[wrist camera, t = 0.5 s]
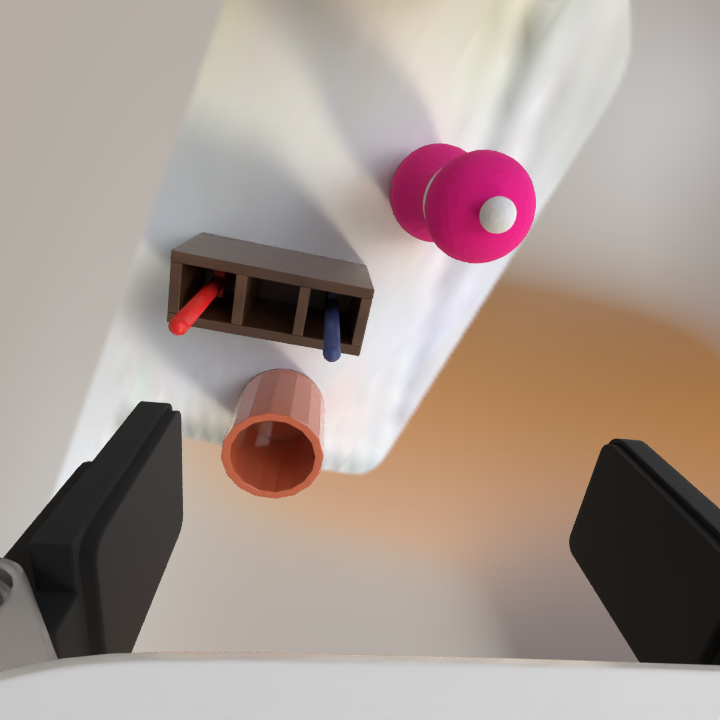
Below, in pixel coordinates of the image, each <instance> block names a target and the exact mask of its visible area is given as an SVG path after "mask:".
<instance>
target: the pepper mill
mask: <svg viewBox="0 0 720 720" xmlns="http://www.w3.org/2000/svg"><path fill="white" fill-rule="evenodd" d="M390 201H391V207H392V210H393V214H394V216H395V218H396V220H397V222H398V223H399V224H400V226H401V227H402V228H403V229H404V230H405V231H406V232H407V233H409V234H410V235H412V236H414V237H416V238H418V239H421V240H424V241H428V242H434V243H435V244H436V245H437V247H438V248H440V249H441V250H442V251H443V252H444V253H446V254H447V255H448V256H450V257H452V258H454V259H456V260H460V261H463V262H468V263H485V262H490V261H493V260H496V259H499V258H501V257H503V256H505V255H507V254H508V253H510V252H511V251H512V250H513V249H515V248H516V247H517V246H518V245H519V244H520V243H521V241H522V240H523V239H524V238H525V236H526V235H527V233H528V231H529V230H530V227H531V224H532V222H533V219H534V214H535V209H536V198H535V191H534V187H533V184H532V181H531V179H530V177H529V175H528V173H527V172H526V171H525V169H524V168H523V167H522V166H521V165H520V164H519V163H518V162H517V161H516V160H514V159H513V158H511V157H509V156H507V155H505V154H502V153H500V152H497V151H492V150H476V151H472V152H468V153H467V152H465V151H464V150H462V149H460V148H458V147H455V146H452V145H448V144H441V143H439V144H430V145H426V146H423V147H421V148H419V149H417V150H415V151H414V152H412V153H411V154H410V155H408V156H407V157H406V158H405V159H404V160H403V162H402V163H401V164H400V165H399V167H398V169H397V170H396V172H395V175H394V177H393V179H392V183H391V189H390Z"/></svg>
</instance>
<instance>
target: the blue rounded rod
mask: <svg viewBox="0 0 720 720" xmlns="http://www.w3.org/2000/svg"><path fill="white" fill-rule="evenodd" d="M337 298H338V293H333V292H328V291H327V294H326V299H325V309H324V340H323V356H324V358H325V359H326V360H327V361H329V362H335V361H337V360H338V359H339V358H340V355H341V346H340V326H339V307H338V301H337Z"/></svg>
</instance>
